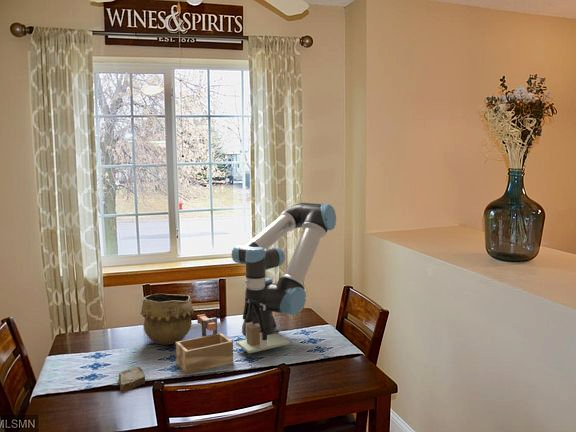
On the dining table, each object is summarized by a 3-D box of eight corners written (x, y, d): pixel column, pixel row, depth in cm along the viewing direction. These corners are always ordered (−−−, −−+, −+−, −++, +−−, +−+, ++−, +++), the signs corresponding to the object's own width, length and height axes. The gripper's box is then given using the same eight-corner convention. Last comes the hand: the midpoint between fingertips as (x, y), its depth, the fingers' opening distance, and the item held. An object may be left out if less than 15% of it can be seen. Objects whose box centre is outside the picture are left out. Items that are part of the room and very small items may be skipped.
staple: (202, 351, 192) (201, 319, 191) (216, 348, 195) (215, 317, 194) (204, 353, 191) (203, 320, 189) (217, 350, 194) (216, 318, 192)
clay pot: (161, 331, 215) (159, 286, 213) (204, 337, 208) (202, 290, 206) (130, 348, 196) (128, 299, 194) (177, 355, 189) (175, 304, 187)
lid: (236, 344, 193) (235, 324, 192) (275, 335, 202) (275, 316, 202) (248, 353, 184) (248, 332, 183) (289, 343, 193) (289, 324, 192)
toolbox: (176, 362, 182) (175, 342, 181) (221, 352, 191) (220, 332, 190) (186, 373, 173) (185, 351, 172) (233, 362, 182) (233, 341, 181)
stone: (118, 375, 173) (117, 367, 172) (142, 371, 176) (142, 363, 175) (120, 393, 159) (120, 384, 158) (147, 389, 162) (146, 380, 161)
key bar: (197, 323, 199) (197, 315, 198) (204, 321, 200) (204, 314, 200) (208, 331, 189) (208, 323, 188) (216, 330, 190) (216, 322, 190)
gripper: (233, 282, 197) (234, 335, 199) (261, 296, 177) (262, 354, 180) (250, 280, 201) (251, 332, 203) (279, 293, 181) (279, 350, 183)
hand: (256, 342), depth 191 cm, fingers closed on lid, 11 cm apart
